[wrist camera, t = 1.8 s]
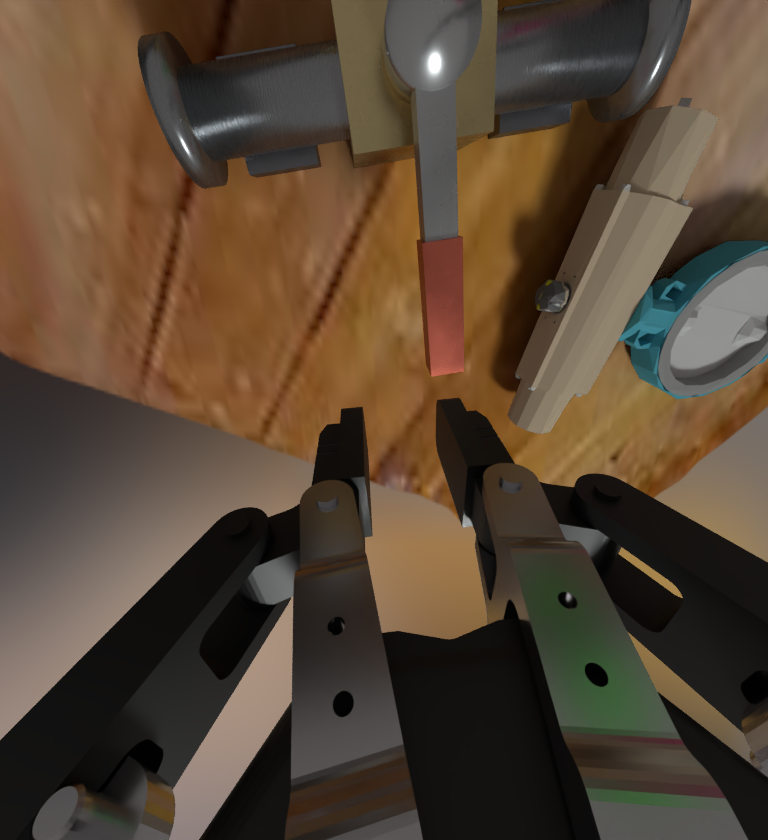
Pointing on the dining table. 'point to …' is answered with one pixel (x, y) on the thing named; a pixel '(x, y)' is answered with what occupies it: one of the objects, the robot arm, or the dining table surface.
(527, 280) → the dining table surface
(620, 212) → the butterfly valve
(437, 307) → the valve lever
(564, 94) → the pipe valve
